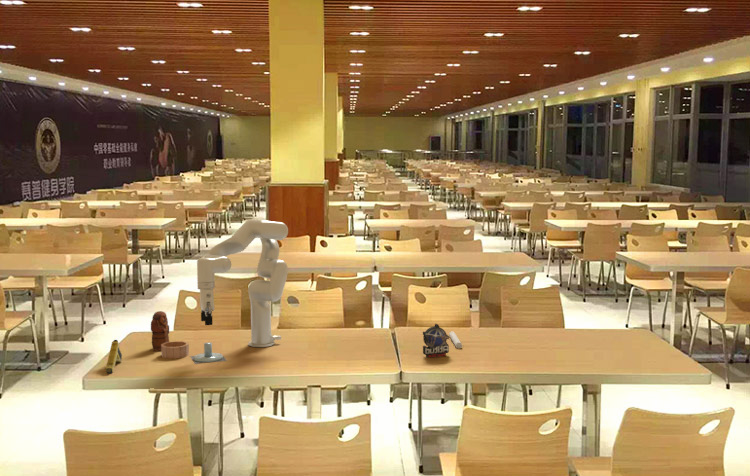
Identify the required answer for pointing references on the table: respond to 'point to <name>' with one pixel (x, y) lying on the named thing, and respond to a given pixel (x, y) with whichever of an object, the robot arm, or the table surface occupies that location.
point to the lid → (208, 354)
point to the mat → (206, 362)
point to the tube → (455, 340)
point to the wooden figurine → (159, 330)
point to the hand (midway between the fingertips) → (206, 322)
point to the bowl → (175, 349)
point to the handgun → (113, 356)
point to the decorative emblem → (435, 342)
